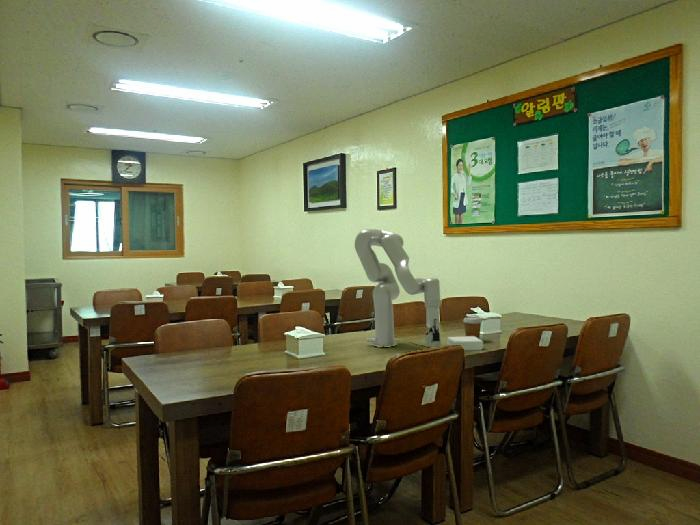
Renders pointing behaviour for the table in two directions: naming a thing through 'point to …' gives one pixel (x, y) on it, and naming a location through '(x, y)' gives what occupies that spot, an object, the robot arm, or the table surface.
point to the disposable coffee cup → (472, 326)
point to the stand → (466, 342)
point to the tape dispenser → (431, 340)
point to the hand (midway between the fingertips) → (434, 339)
